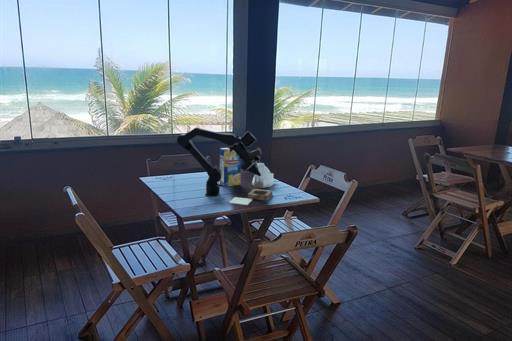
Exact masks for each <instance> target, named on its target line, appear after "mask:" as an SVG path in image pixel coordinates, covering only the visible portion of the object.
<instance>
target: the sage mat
mask: <svg viewBox="0 0 512 341" xmlns="http://www.w3.org/2000/svg"><path fill="white" fill-rule="evenodd" d="M253 200H254V199H248V197H237V196H234V197H233V198H232V199H231V200H230V201H228V204H231V205H232V204H233V205H240V206H241V205H242V206H249V204H250V203H251V202H252V201H253Z"/></svg>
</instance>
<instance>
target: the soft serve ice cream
mask: <svg viewBox="0 0 512 341" xmlns="http://www.w3.org/2000/svg"><path fill="white" fill-rule="evenodd" d="M254 178H255V174H254V175H253V178H252V181H251V185H252V186H254ZM273 185H274V173H272V172H271V171H270V169H269V168H268V167H267V166H266V165H265V164H264V184H263V187H259V188H261V189H262V188H270V187H271V186H273Z"/></svg>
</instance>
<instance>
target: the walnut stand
mask: <svg viewBox="0 0 512 341" xmlns="http://www.w3.org/2000/svg"><path fill="white" fill-rule="evenodd" d="M272 196H273V190H268V189H267V190H266V189H259V188H258V189H257V188H252V190H251V191H250V192H248V193H247V198H248V199H253V200H257V201H258V200H259V201H269V200H270V199H271V198H272Z"/></svg>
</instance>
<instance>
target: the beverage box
mask: <svg viewBox="0 0 512 341" xmlns="http://www.w3.org/2000/svg"><path fill="white" fill-rule="evenodd" d="M239 158H240V157H239V156H238V155H237V154H236V153H235V151H234V150H233V151H232V152H230V147H221V148H219V169H220V170H221V173H222V177H221V180H220V181H219V185H221V186H222V187H231V186H232V187H233V186H240V185H241V175H242V174H241V172H242V171H241V169H242V159H241V160H240V159H239Z"/></svg>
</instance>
